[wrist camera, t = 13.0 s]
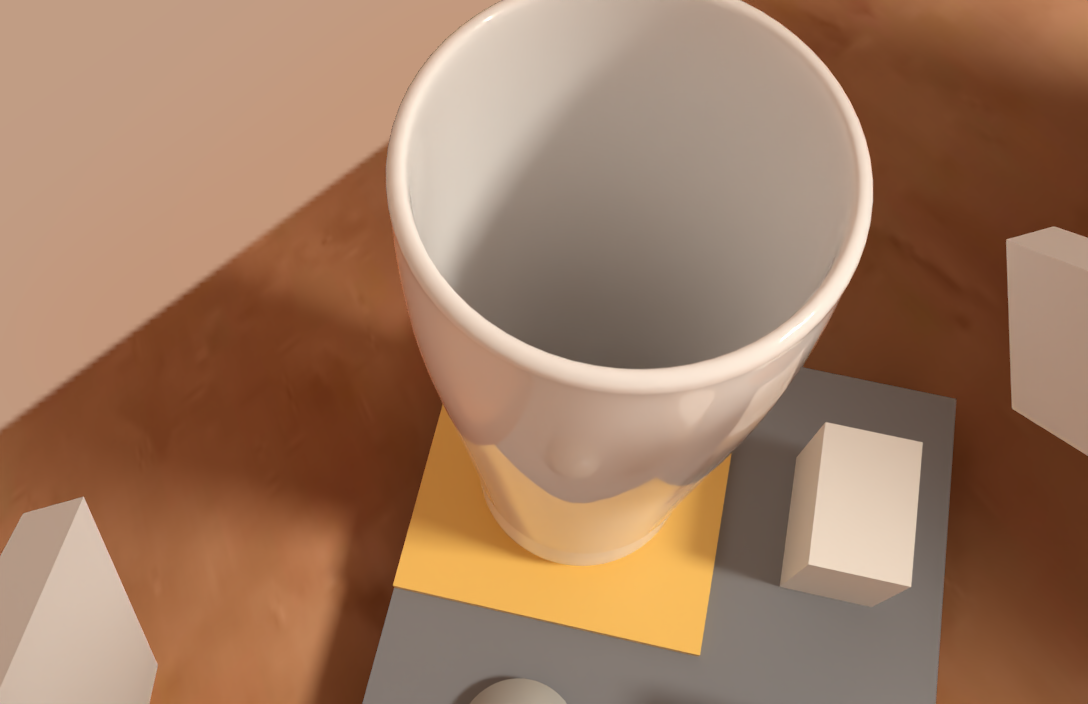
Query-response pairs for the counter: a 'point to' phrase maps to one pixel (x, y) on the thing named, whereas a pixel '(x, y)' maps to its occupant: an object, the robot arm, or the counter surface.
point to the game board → (699, 575)
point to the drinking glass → (619, 248)
